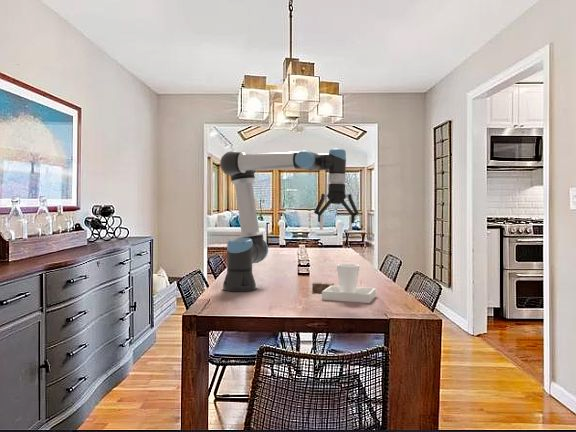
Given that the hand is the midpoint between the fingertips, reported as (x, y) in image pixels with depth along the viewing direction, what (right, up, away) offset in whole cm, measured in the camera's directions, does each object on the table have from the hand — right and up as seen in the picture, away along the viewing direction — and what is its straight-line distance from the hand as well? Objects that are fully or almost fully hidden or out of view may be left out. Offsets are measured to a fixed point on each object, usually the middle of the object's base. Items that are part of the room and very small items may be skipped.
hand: (335, 230), depth 235 cm
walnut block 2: (-4, -28, -1) cm, 28 cm away
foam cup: (+4, -28, -14) cm, 31 cm away
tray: (+4, -29, -14) cm, 32 cm away
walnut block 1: (-8, -28, +1) cm, 29 cm away
